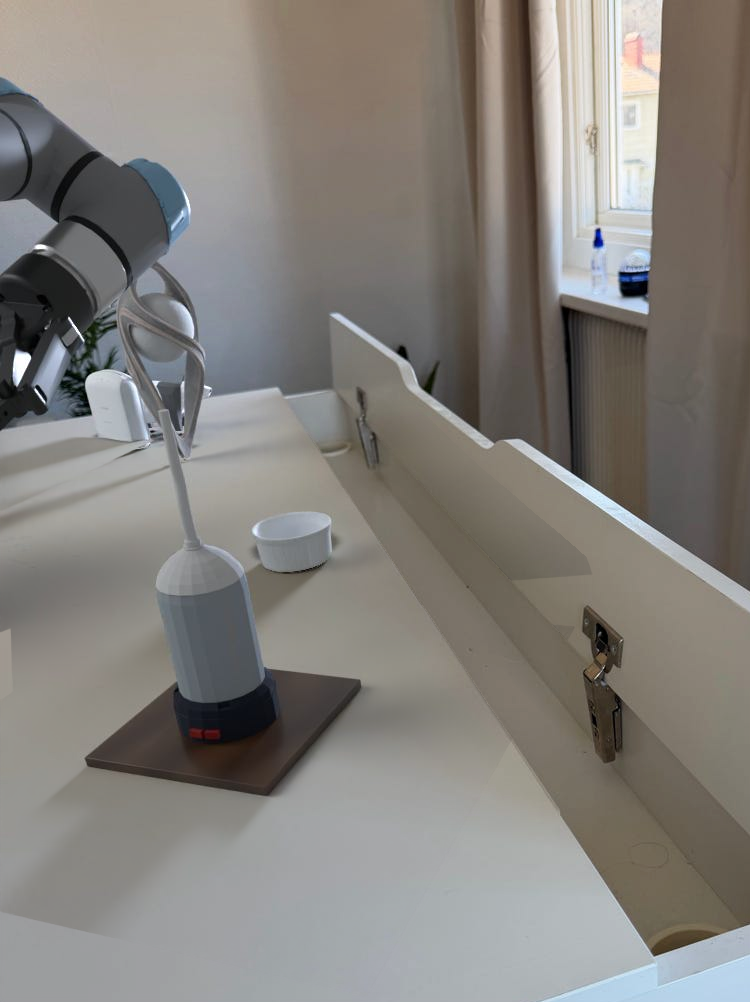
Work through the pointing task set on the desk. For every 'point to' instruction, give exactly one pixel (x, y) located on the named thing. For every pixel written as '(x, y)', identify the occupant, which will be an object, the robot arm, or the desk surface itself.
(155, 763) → the mat
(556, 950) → the desk surface
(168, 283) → the sculpture
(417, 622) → the desk surface
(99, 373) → the photo printer
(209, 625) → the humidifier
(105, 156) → the robot arm
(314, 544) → the ramekin
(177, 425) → the dark grey angular block
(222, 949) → the desk surface
